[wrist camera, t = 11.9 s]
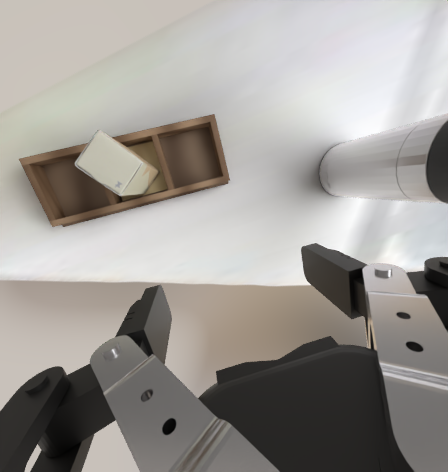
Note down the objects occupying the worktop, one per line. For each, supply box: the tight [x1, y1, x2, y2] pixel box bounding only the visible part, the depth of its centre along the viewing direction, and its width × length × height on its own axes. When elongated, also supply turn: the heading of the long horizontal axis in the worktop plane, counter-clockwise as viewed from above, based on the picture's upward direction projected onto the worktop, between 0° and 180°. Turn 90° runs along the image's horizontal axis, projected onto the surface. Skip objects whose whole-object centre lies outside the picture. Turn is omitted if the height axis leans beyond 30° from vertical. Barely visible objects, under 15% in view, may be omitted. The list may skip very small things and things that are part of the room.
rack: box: [19, 114, 230, 227], centre depth 30 cm, size 26×10×4 cm, turn 104°
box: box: [75, 130, 160, 196], centre depth 25 cm, size 5×4×11 cm
